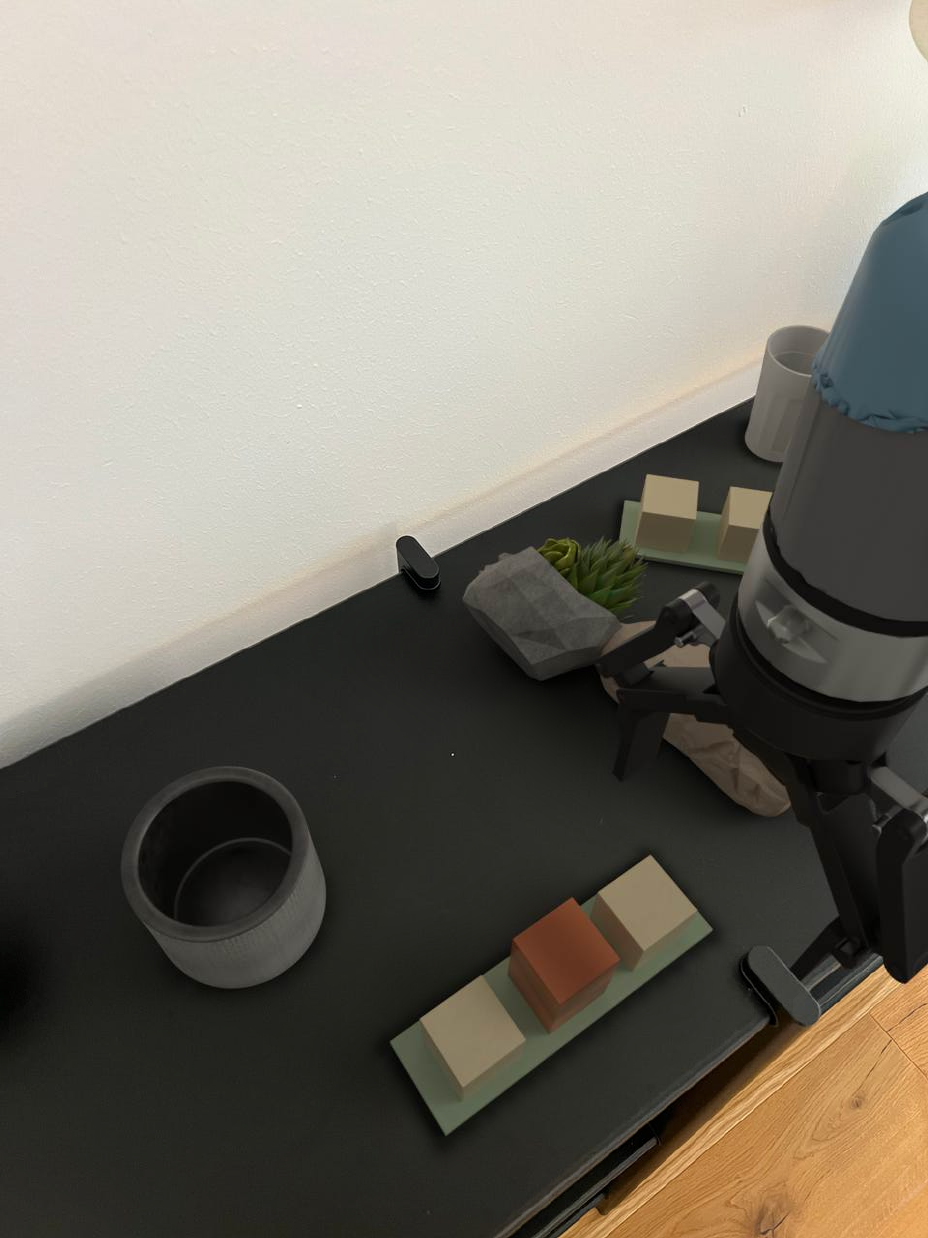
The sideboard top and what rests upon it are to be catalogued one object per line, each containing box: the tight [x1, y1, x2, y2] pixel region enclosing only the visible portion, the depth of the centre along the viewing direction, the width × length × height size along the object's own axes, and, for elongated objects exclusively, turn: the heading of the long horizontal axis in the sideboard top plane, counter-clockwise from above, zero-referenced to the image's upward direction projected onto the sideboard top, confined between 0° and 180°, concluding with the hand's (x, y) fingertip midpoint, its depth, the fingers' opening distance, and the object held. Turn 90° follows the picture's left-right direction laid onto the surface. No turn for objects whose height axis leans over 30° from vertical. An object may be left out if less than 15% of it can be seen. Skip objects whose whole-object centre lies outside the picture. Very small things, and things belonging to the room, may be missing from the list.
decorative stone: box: [599, 620, 791, 818], centre depth 77 cm, size 20×8×10 cm, turn 44°
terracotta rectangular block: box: [508, 897, 620, 1034], centre depth 65 cm, size 5×5×8 cm
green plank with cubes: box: [389, 854, 713, 1137], centre depth 67 cm, size 24×7×6 cm, turn 125°
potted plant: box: [462, 535, 649, 682], centre depth 82 cm, size 12×13×15 cm
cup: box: [744, 324, 831, 463], centre depth 98 cm, size 8×8×12 cm
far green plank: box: [618, 473, 773, 576], centre depth 91 cm, size 24×7×6 cm, turn 79°
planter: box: [120, 765, 327, 990], centre depth 68 cm, size 13×13×11 cm
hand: (717, 856), depth 52 cm, fingers open, 13 cm apart
